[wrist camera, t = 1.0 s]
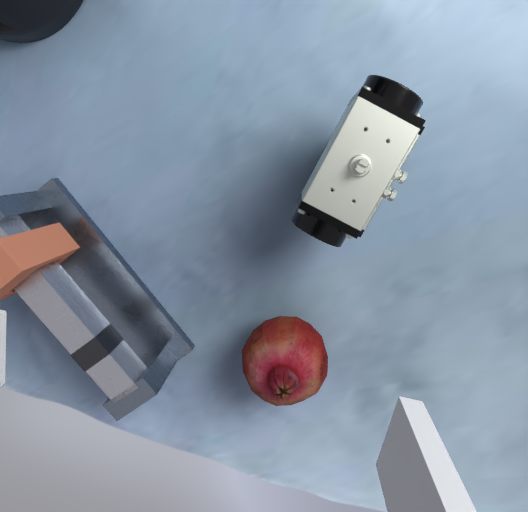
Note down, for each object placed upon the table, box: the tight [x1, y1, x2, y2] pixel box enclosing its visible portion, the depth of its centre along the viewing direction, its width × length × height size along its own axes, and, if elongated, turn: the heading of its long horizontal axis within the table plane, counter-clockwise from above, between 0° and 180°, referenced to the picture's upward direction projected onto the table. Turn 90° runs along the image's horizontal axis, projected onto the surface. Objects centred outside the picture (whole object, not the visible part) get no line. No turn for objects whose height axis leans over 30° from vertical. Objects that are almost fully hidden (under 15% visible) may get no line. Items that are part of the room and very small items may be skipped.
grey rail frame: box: [0, 178, 194, 421], centre depth 39 cm, size 22×9×8 cm, turn 37°
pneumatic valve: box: [292, 75, 425, 247], centre depth 32 cm, size 6×12×12 cm, turn 153°
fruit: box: [242, 316, 328, 406], centre depth 38 cm, size 8×8×10 cm
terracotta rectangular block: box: [0, 223, 80, 300], centre depth 35 cm, size 3×6×8 cm, turn 127°
